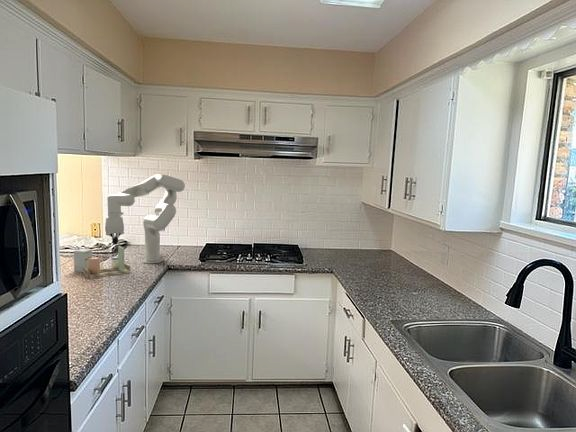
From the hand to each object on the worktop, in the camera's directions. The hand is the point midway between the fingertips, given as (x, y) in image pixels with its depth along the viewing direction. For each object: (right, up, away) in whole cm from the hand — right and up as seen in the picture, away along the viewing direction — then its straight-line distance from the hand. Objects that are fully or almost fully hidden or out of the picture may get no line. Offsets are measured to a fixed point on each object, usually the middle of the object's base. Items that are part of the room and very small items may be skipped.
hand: (115, 243), depth 254 cm
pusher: (+7, -16, -4) cm, 18 cm away
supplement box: (-17, -16, -5) cm, 24 cm away
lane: (-1, -17, -10) cm, 20 cm away
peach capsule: (-6, -17, -15) cm, 23 cm away
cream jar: (-1, -15, +3) cm, 16 cm away
